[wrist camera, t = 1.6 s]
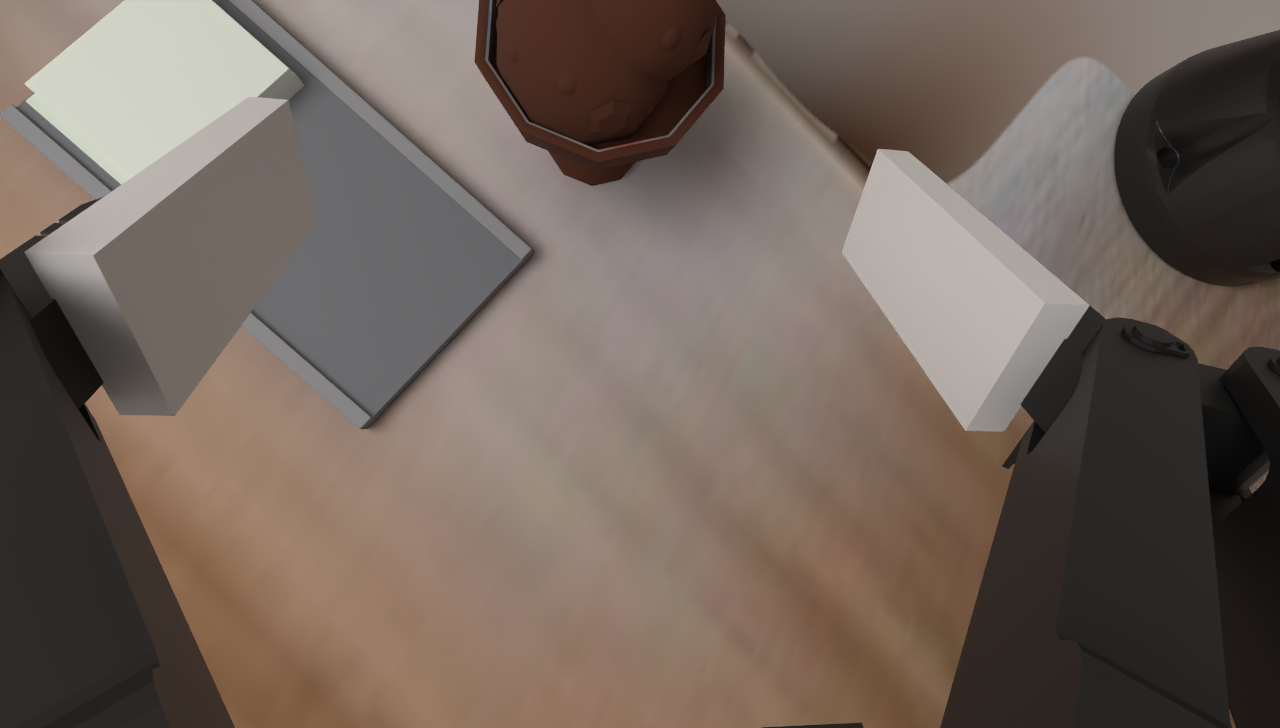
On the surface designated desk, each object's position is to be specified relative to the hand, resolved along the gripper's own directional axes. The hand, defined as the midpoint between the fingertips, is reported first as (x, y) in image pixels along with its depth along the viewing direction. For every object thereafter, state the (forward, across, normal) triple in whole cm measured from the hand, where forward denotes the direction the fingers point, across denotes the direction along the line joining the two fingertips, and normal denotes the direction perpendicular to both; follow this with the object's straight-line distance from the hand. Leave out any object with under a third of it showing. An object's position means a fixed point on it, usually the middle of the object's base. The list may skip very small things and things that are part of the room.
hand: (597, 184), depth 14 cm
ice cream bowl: (+22, +1, -7) cm, 23 cm away
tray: (+19, -16, -10) cm, 27 cm away
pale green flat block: (+22, -21, -6) cm, 32 cm away
